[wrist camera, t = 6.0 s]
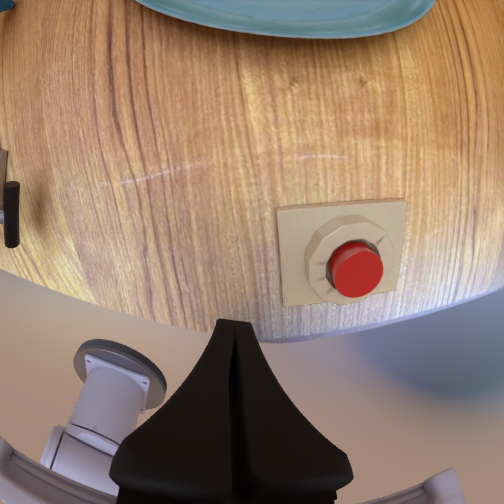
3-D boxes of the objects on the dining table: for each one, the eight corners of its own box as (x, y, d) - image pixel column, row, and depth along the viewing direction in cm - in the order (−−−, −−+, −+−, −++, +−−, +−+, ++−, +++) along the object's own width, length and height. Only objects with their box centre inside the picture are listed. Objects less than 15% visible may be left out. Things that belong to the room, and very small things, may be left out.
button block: (282, 301, 22) (286, 320, 20) (275, 207, 19) (279, 219, 17) (391, 285, 22) (403, 301, 20) (402, 197, 18) (419, 207, 16)
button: (327, 289, 19) (333, 301, 18) (328, 244, 18) (335, 254, 16) (372, 282, 19) (380, 293, 18) (377, 238, 18) (386, 248, 16)
